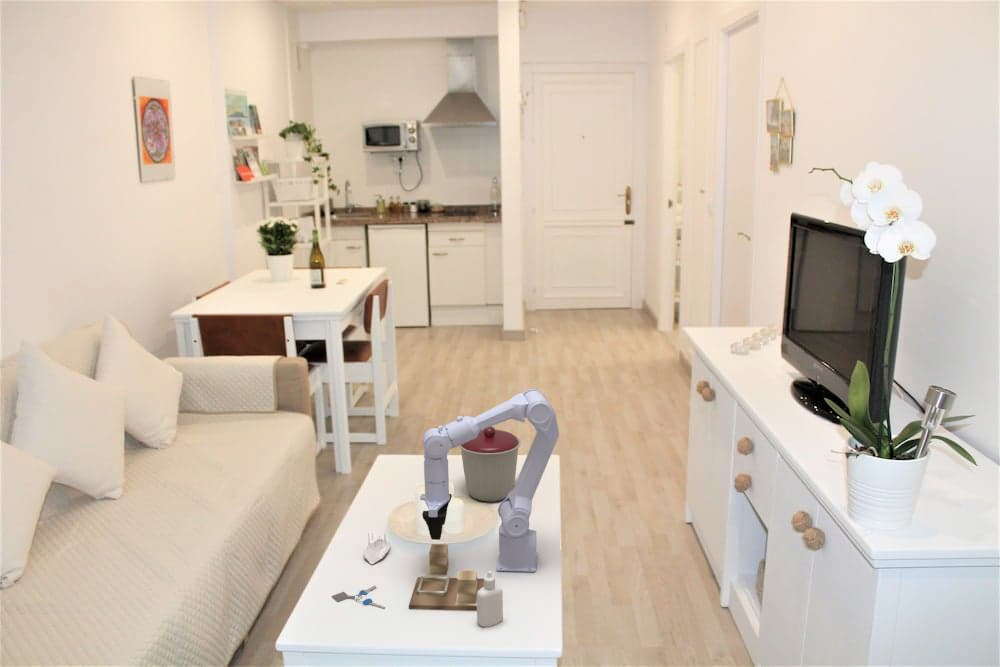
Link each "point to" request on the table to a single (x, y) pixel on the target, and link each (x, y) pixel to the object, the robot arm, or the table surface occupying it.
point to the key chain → (344, 596)
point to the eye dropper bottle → (489, 603)
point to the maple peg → (438, 559)
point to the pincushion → (376, 549)
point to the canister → (490, 464)
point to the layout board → (447, 592)
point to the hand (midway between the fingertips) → (438, 531)
